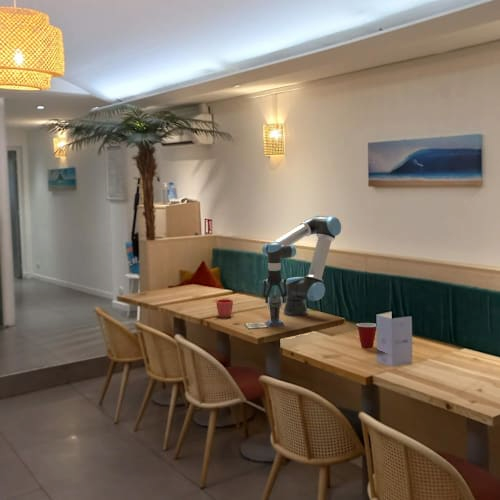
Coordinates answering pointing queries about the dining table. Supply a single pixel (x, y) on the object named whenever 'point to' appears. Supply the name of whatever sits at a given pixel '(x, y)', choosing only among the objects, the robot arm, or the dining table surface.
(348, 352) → the dining table surface
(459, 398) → the dining table surface
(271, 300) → the beverage cup
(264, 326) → the marked board
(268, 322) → the ink pad
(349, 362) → the dining table surface
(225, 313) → the flower pot
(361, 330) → the plastic cup
